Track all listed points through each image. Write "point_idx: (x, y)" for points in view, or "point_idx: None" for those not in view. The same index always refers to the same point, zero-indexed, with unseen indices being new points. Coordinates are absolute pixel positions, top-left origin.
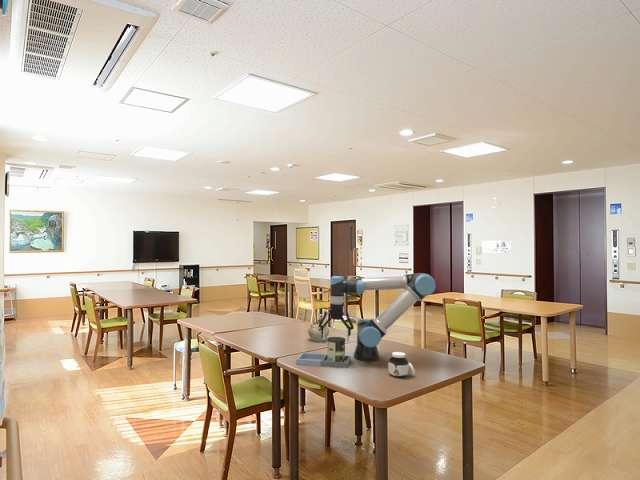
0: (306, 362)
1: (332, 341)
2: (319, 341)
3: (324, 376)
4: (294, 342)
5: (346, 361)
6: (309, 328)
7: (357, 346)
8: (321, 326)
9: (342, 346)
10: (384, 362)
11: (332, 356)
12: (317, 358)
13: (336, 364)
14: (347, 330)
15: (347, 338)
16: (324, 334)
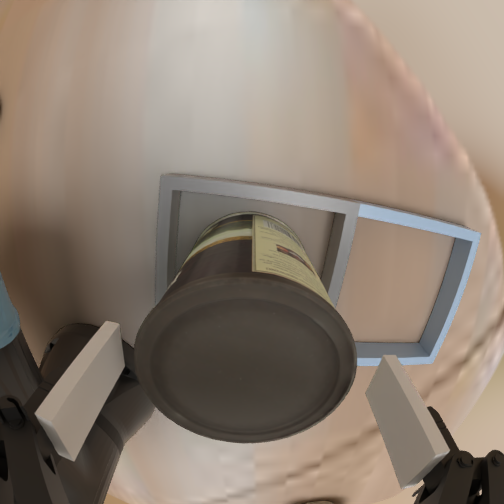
0: (431, 218)
1: (296, 283)
2: (312, 502)
3: (309, 7)
4: (393, 479)
5: (168, 214)
6: None
7: (117, 411)
8: (470, 471)
9: (173, 280)
10: (24, 304)
11: (276, 231)
12: (357, 343)
13: (242, 182)
14: (44, 416)
15: (93, 343)
16: (404, 402)
